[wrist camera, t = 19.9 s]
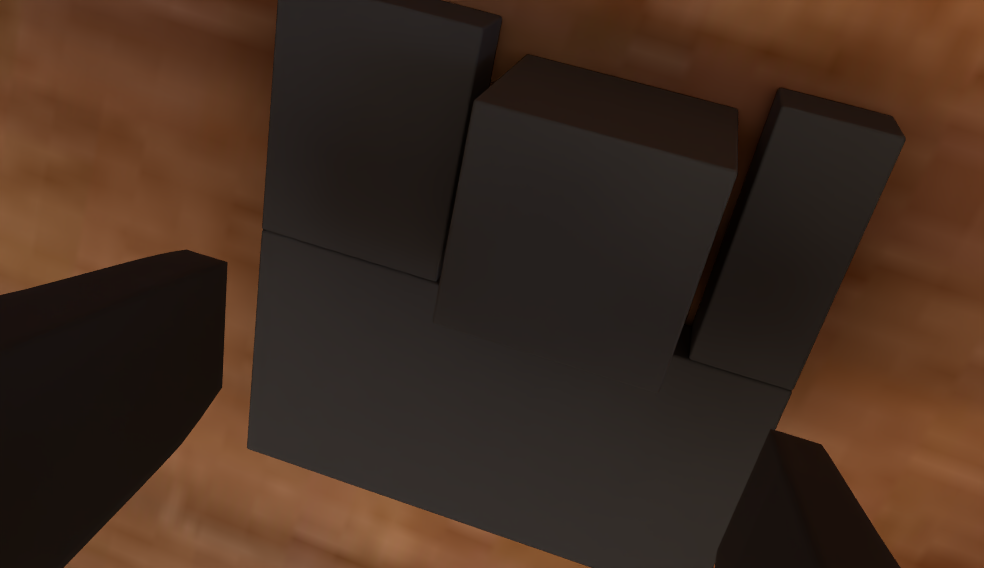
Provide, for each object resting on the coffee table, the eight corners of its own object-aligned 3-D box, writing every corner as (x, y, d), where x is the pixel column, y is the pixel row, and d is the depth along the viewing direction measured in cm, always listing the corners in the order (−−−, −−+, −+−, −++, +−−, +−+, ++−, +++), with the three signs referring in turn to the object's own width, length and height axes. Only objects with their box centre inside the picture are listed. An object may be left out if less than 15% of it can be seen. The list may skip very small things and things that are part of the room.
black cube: (486, 243, 19) (430, 323, 16) (526, 53, 17) (473, 99, 14) (673, 298, 19) (658, 395, 15) (739, 108, 17) (738, 171, 13)
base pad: (273, 416, 23) (246, 449, 22) (312, -34, 18) (278, -26, 16) (699, 561, 22) (696, 605, 20) (894, 115, 16) (907, 137, 15)
